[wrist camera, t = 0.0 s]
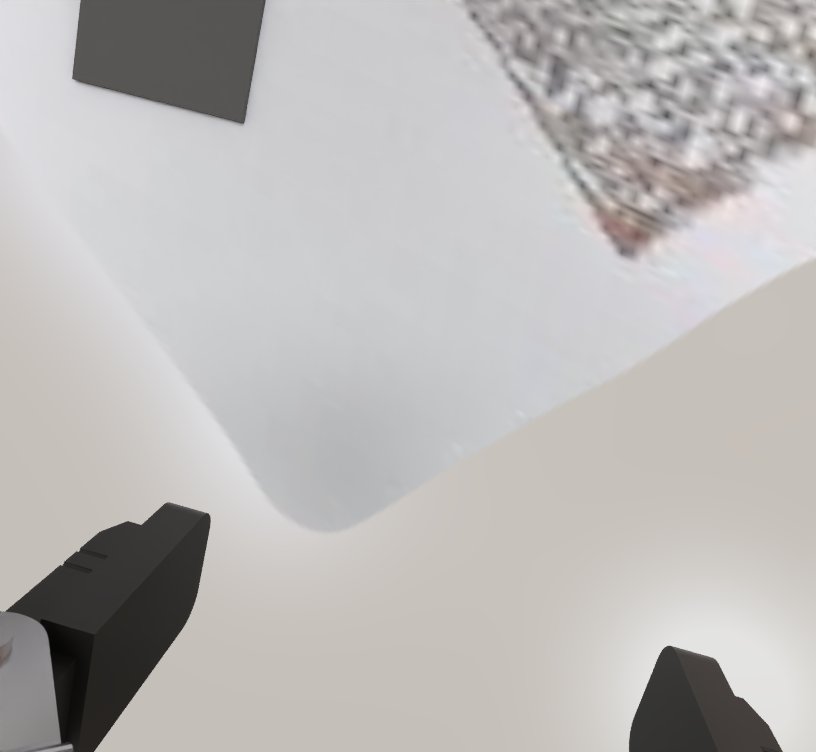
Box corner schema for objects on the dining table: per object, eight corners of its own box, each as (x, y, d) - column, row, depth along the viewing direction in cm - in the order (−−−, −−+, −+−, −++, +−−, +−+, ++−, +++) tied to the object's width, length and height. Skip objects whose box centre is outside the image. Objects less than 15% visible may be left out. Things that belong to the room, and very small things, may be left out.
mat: (98, -118, 37) (93, -121, 36) (278, -74, 36) (275, -77, 36) (76, 80, 39) (72, 78, 39) (244, 123, 39) (241, 122, 38)
